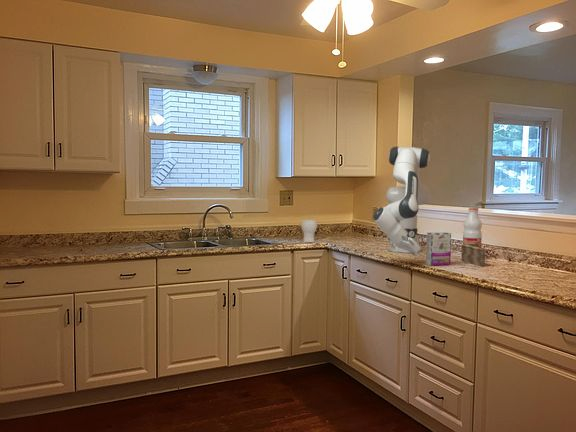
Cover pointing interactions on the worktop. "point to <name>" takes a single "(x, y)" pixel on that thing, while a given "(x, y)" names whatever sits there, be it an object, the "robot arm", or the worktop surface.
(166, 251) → the worktop surface
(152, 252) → the worktop surface
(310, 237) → the cup
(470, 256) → the block
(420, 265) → the worktop surface
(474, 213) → the fruit juice
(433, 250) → the candy bar box
